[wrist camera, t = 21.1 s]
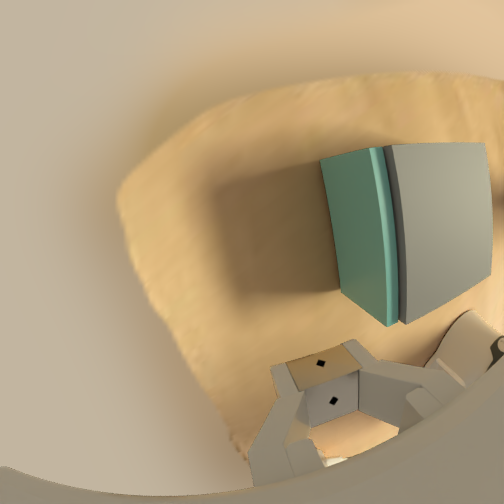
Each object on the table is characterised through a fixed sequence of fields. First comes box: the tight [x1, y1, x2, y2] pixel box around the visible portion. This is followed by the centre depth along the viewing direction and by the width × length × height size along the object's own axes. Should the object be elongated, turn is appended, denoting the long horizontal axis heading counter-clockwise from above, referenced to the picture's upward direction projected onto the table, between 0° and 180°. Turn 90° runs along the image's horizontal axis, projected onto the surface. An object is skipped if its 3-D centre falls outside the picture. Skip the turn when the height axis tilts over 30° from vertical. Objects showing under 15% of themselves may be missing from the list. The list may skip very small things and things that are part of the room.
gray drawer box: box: [382, 143, 493, 325], centre depth 23 cm, size 14×14×10 cm
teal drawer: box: [320, 147, 398, 327], centre depth 23 cm, size 14×14×9 cm
